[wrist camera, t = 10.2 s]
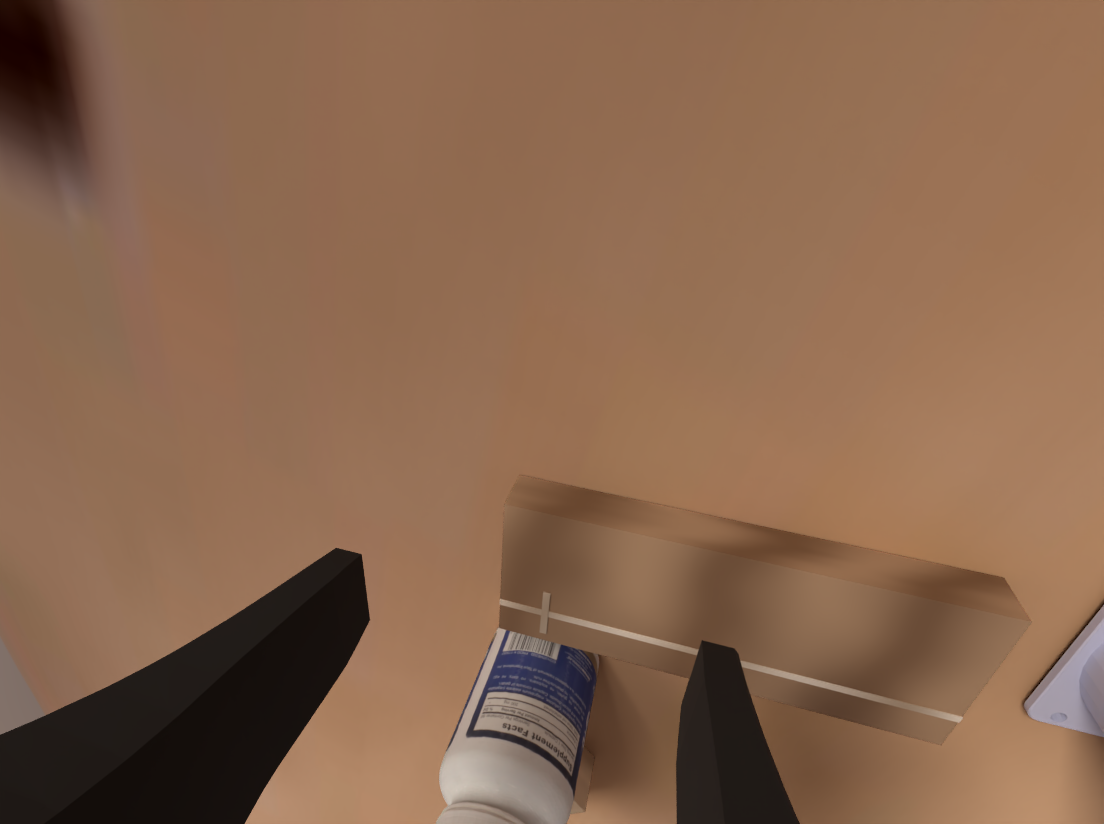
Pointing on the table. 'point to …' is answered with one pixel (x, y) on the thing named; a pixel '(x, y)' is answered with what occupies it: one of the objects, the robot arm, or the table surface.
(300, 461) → the table surface
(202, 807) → the robot arm
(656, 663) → the board
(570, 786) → the pill bottle
